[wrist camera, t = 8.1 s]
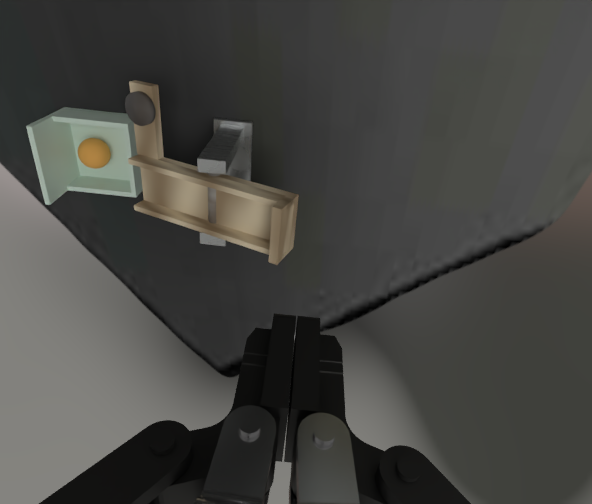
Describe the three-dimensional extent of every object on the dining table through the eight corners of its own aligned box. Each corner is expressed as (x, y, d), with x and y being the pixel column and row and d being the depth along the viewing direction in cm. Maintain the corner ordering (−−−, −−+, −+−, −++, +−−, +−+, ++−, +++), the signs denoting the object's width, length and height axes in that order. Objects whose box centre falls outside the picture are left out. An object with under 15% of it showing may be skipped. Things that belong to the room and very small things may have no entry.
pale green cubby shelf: (64, 106, 46) (26, 126, 40) (140, 115, 46) (112, 135, 40) (78, 177, 50) (45, 204, 44) (147, 184, 50) (123, 212, 44)
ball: (115, 138, 46) (92, 131, 47) (91, 146, 44) (67, 139, 45) (119, 166, 48) (97, 159, 49) (96, 175, 45) (73, 168, 46)
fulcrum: (216, 196, 50) (191, 246, 41) (215, 117, 45) (187, 152, 36) (250, 200, 50) (233, 250, 41) (253, 121, 45) (235, 158, 36)
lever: (148, 200, 44) (123, 213, 41) (135, 79, 38) (105, 85, 35) (293, 247, 39) (277, 265, 36) (307, 116, 33) (288, 127, 30)
